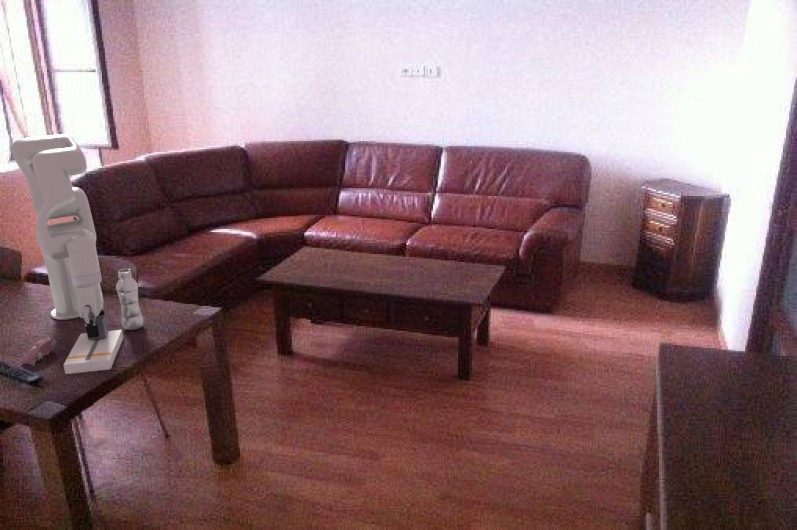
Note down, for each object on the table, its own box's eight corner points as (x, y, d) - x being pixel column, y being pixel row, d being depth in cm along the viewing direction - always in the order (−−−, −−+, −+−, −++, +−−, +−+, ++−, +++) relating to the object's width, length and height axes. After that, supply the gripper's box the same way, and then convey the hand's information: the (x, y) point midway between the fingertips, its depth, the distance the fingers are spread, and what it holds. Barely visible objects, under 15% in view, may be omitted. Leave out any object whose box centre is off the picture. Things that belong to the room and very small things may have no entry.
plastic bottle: (134, 322, 213) (124, 265, 206) (149, 326, 210) (139, 269, 203) (118, 330, 208) (107, 272, 201) (133, 334, 205) (123, 275, 198)
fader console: (82, 342, 200) (80, 333, 199) (123, 338, 202) (121, 329, 201) (65, 374, 181) (63, 364, 180) (110, 369, 184) (108, 359, 183)
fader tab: (91, 334, 197) (87, 316, 195) (108, 332, 198) (105, 314, 196) (88, 339, 194) (84, 321, 192) (105, 338, 195) (102, 320, 193)
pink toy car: (32, 370, 187) (38, 352, 184) (19, 363, 187) (24, 344, 184) (56, 354, 196) (61, 336, 193) (42, 347, 196) (47, 329, 193)
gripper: (80, 268, 197) (90, 319, 203) (65, 289, 181) (76, 344, 187) (106, 266, 198) (115, 317, 204) (94, 287, 182) (104, 341, 188)
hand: (97, 330), depth 195 cm, fingers open, 9 cm apart
